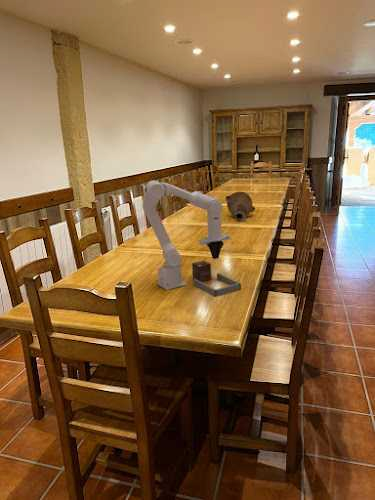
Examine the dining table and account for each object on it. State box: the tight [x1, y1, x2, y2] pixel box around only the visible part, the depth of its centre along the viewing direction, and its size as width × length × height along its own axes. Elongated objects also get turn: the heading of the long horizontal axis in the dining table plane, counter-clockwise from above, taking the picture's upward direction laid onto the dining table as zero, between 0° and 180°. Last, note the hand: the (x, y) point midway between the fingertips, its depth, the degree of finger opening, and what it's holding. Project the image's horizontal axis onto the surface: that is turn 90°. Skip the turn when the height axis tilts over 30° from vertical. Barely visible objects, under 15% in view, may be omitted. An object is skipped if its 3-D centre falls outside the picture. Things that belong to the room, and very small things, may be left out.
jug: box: [225, 191, 256, 223], centre depth 284 cm, size 20×20×30 cm
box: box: [191, 260, 212, 283], centre depth 163 cm, size 6×6×7 cm
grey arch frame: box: [193, 272, 242, 297], centre depth 154 cm, size 13×15×2 cm
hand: (215, 258), depth 160 cm, fingers closed
